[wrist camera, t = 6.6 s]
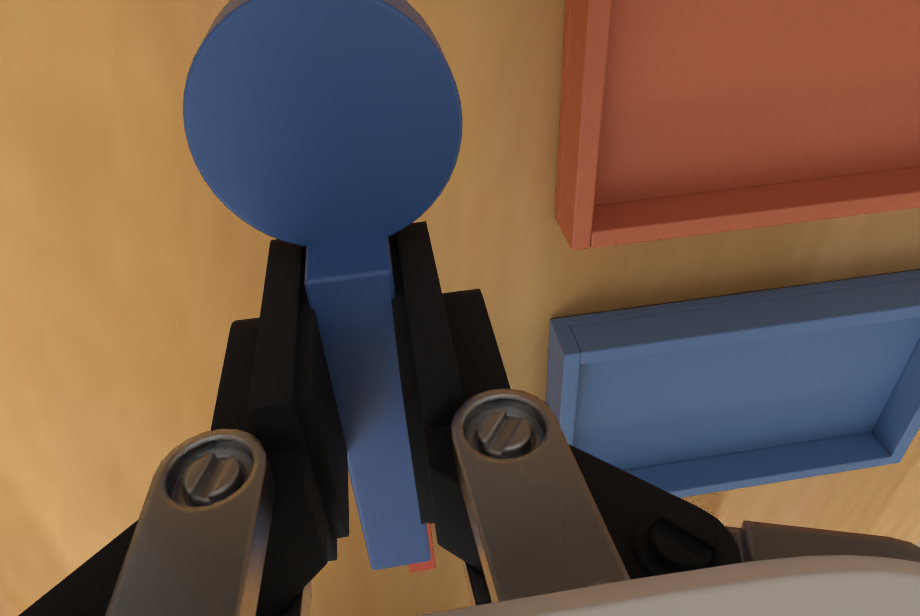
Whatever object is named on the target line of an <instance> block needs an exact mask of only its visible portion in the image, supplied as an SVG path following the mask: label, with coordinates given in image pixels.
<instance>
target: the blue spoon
mask: <svg viewBox="0 0 920 616" xmlns="http://www.w3.org/2000/svg"><path fill="white" fill-rule="evenodd" d="M183 118H184V128H185V133H186V137H187V141H188V145H189V149H190V151H191V154H192V156H193V159H194V161H195V164H196V166H197V167H198V169H199V171H200V173H201V175H202V177H203V178H204V180H205V181H206V183H207V184H208V186H209V187H210V188H211V190H212V191H213V192H214V194H215V195H216V196H217V197H218V198H219V199H220V200H221V201H222V203H223V204H224V205H225V206H226V207H227V208H228V209H230V210H231V211H232V212H233V213H234V214H235V215H237V216H238V217H239V218H240V219H242V220H243V221H245V222H246V223H248V224H249V225H251V226H252V227H254V228H255V229H257V230H259V231H261V232H263V233H265V234H267V235H269V236H271V237H274V238H276V239H279V240H282V241H284V242H288V243H292V244H295V245H299V246H304V247H306V263H305V280H304V284H305V289H306V293H307V297H308V301H309V306H310V308H311V309H314V310H315V314H316V318H317V322H318V327H319V331H320V335H321V340H322V344H323V348H324V353H325V357H326V361H327V366H328V370H329V374H330V379H331V383H332V387H333V392H334V396H335V400H336V405H337V409H338V413H339V418H340V422H341V426H342V431H343V435H344V439H345V443H346V448H347V458H348V471H349V476H350V480H351V484H352V488H353V493H354V497H355V501H356V505H357V510H358V514H359V518H360V522H361V527H362V531H363V535H364V539H365V544H366V548H367V552H368V556H369V561H370V565H371V568H372V569H373V570H379V569H385V568H391V567H397V566H403V565H409V564H415V563H421V562H427V561H429V560H430V559H431V551H430V543H429V536H428V528H427V524H421V520H420V513H419V506H418V499H417V493H416V486H415V479H414V472H413V465H412V458H411V451H410V444H409V437H408V431H407V424H406V417H405V410H404V403H403V396H402V388H401V380H400V372H399V364H398V355H397V346H396V338H395V329H394V320H393V312H392V303H391V300H392V299H394V298H395V297H396V293H395V285H394V277H393V269H392V261H391V254H390V246H389V238H388V237H389V236H391V235H394V234H395V233H397V232H399V231H400V230H402V229H404V228H406V227H407V226H409V225H410V224H411V223H413V222H414V221H415V220H416V219H418V218H419V217H420V216H421V215H422V214H423V213H424V212H425V211H426V210H427V209H428V208H429V207H430V206H431V205H432V204H433V203H434V201H435V200H436V199H437V198H438V196H439V195H440V194H441V192H442V191H443V189H444V187H445V186H446V184H447V182H448V181H449V179H450V176H451V174H452V172H453V170H454V167H455V165H456V161H457V158H458V154H459V151H460V145H461V138H462V110H461V102H460V97H459V93H458V90H457V86H456V82H455V80H454V78H453V75H452V73H451V70H450V68H449V65H448V63H447V61H446V59H445V56H444V54H443V52H442V50H441V47H440V45H439V43H438V41H437V39H436V38H435V36H434V34H433V32H432V31H431V29H430V27H429V26H428V25H427V23H426V22H425V21H424V19H423V18H422V17H421V15H420V14H419V13H418V12H417V11H416V10H415V9H414V8H413V7H412V6H411V5H410V4H409V3H408V2H407V1H406V0H231V1H229V2H228V3H227V4H226V5H225V7H224V8H223V9H222V11H221V12H220V13H219V14H218V16H217V17H216V18H215V20H214V22H213V24H212V25H211V27H210V29H209V31H208V33H207V34H206V36H205V38H204V40H203V42H202V44H201V45H200V47H199V49H198V51H197V53H196V55H195V56H194V58H193V61H192V64H191V67H190V69H189V72H188V75H187V79H186V84H185V90H184V98H183Z"/></svg>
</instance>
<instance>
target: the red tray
mask: <svg viewBox="0 0 920 616" xmlns="http://www.w3.org/2000/svg"><path fill="white" fill-rule="evenodd" d="M914 207H920V0H566V3H565V23H564V44H563V64H562V85H561V105H560V126H559V146H558V167H557V188H556V208H555V218H556V220H557V222H558V224H559V225H560V228H561V229H562V231H563V233H564V235H565V237H566V239H567V241H568V243H569V245H570V247H571V249H572V250H578V249H586V248H590V247H591V248H595V247H603V246H611V245H619V244H627V243H635V242H643V241H651V240H659V239H667V238H675V237H683V236H691V235H699V234H707V233H715V232H723V231H731V230H738V229H746V228H754V227H762V226H770V225H778V224H786V223H794V222H802V221H810V220H818V219H826V218H834V217H842V216H850V215H858V214H866V213H874V212H882V211H890V210H898V209H906V208H914Z"/></svg>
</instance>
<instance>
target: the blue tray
mask: <svg viewBox="0 0 920 616" xmlns="http://www.w3.org/2000/svg"><path fill="white" fill-rule="evenodd" d="M546 404H547V405H548V406H549V408H550V409H551V411H552V412H553V413H554V415H555V417H556V419H557V421H558V423H559V425H560V427H561V430H562V432H563V434H564V436H565V438H566V440H567V443H568V444H570V445H572V446H574V447H576V448H578V449H580V450H582V451H584V452H586V453H588V454H590V455H593V456H595V457H597V458H599V459H601V460H603V461H605V462H607V463H609V464H611V465H613V466H615V467H617V468H619V469H621V470H623V471H625V472H627V473H629V474H631V475H634V476H636V477H638V478H640V479H642V480H644V481H646V482H648V483H650V484H652V485H654V486H656V487H658V488H660V489H662V490H664V491H666V492H668V493H670V494H673V495H675V496H677V497H679V498H682V497H688V496H694V495H701V494H707V493H713V492H719V491H725V490H732V489H738V488H744V487H750V486H757V485H763V484H769V483H775V482H782V481H788V480H794V479H800V478H806V477H813V476H819V475H825V474H831V473H838V472H844V471H850V470H856V469H863V468H869V467H875V466H881V465H887V464H893V463H899V462H900V461H901V459H902V457H903V456H904V454H905V452H906V450H907V449H908V447H909V445H910V443H911V442H912V440H913V438H914V437H915V435H916V433H917V431H918V430H919V428H920V270H913V271H906V272H898V273H891V274H883V275H876V276H868V277H861V278H853V279H846V280H839V281H831V282H824V283H816V284H809V285H801V286H794V287H786V288H779V289H771V290H764V291H757V292H749V293H742V294H734V295H727V296H719V297H712V298H704V299H697V300H689V301H682V302H675V303H667V304H660V305H652V306H645V307H637V308H630V309H622V310H615V311H607V312H600V313H593V314H585V315H578V316H570V317H563V318H555V319H550V330H549V351H548V371H547V392H546Z"/></svg>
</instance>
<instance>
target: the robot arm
mask: <svg viewBox="0 0 920 616" xmlns="http://www.w3.org/2000/svg"><path fill="white" fill-rule="evenodd" d="M388 238H389V246H390V254H391V261H392V269H393V277H394V285H395V293H396V297H395V298H394V299H392V300H391V303H392V312H393V320H394V329H395V338H396V346H397V355H398V364H399V372H400V380H401V388H402V396H403V403H404V410H405V417H406V424H407V431H408V437H409V444H410V451H411V458H412V465H413V472H414V479H415V486H416V493H417V499H418V506H419V513H420V520H421V524H428V523H434V522H435V528H436V535H437V542H438V545H440V546H441V547H443V548H444V549H446V550H448V551H449V552H451V553H452V554H454V555H455V556H457V557H459V558H460V559H462V560H463V568H464V574H465V578H466V582H467V586H468V590H469V594H470V598H471V602H472V606H471V607H465V608H460V609H454V610H448V611H442V612H436V613H431V614H425V615H419V616H920V547H918V546H916V545H914V544H912V543H911V542H907V541H903V540H899V539H895V538H891V537H885V536H876V535H867V534H858V533H849V532H840V531H832V530H823V529H814V528H805V527H796V526H788V525H779V524H770V523H761V522H752V521H743V524H742V527H741V528H736V527H727V526H724V525H723V524H722V523H721V522H720V521H719V520H718V519H717V518H715V517H714V516H712V515H711V514H709V513H708V512H706V511H704V510H703V509H701V508H699V507H697V506H695V505H693V504H691V503H689V502H687V501H685V500H683V499H681V498H679V497H677V496H675V495H673V494H670V493H668V492H666V491H664V490H662V489H660V488H658V487H656V486H654V485H652V484H650V483H648V482H646V481H644V480H642V479H640V478H638V477H636V476H634V475H631V474H629V473H627V472H625V471H623V470H621V469H619V468H617V467H615V466H613V465H611V464H609V463H607V462H605V461H603V460H601V459H599V458H597V457H595V456H593V455H590V454H588V453H586V452H584V451H582V450H580V449H578V448H576V447H574V446H572V445H570V444H568V443H567V440H566V438H565V436H564V434H563V432H562V430H561V427H560V425H559V423H558V421H557V419H556V417H555V415H554V413H553V412H552V411H551V409H550V408H549V406H548V405H547V404H546V403H544V402H543V401H542V400H540V399H539V398H538V397H536V396H534V395H531V394H529V393H526V392H524V391H520V390H513V389H510V385H509V382H508V379H507V376H506V372H505V369H504V366H503V362H502V359H501V356H500V352H499V349H498V346H497V342H496V339H495V336H494V332H493V329H492V326H491V322H490V319H489V316H488V312H487V309H486V306H485V302H484V299H483V296H482V293H481V290H480V289H473V290H465V291H458V292H450V293H442V292H441V287H440V283H439V278H438V274H437V269H436V265H435V260H434V255H433V251H432V246H431V242H430V237H429V233H428V228H427V224H426V221H425V222H417V223H411V224H410V225H409V226H407V227H406V228H404V229H402V230H400V231H399V232H397V233H395V234H394V235H391V236H389V237H388ZM305 263H306V247H304V246H299V245H295V244H292V243H288V242H284V241H282V240H279V239H277V240H271V242H270V248H269V255H268V263H267V270H266V277H265V284H264V291H263V299H262V306H261V313H260V317H259V318H252V319H244V320H237V321H234V322H233V323H232V325H231V328H230V332H229V338H228V343H227V348H226V353H225V358H224V364H223V369H222V374H221V379H220V384H219V390H218V395H217V400H216V405H215V410H214V416H213V421H212V426H211V431H208V432H204V433H201V434H199V435H197V436H194V437H192V438H190V439H187V440H186V441H185V442H183V443H182V444H180V445H179V446H177V447H176V448H174V449H173V450H172V451H171V452H170V453H169V454H168V455H167V456H166V457H165V458H164V460H163V461H162V462H161V463H160V465H159V467H158V469H157V471H156V473H155V474H154V477H153V479H152V482H151V485H150V488H149V491H148V494H147V497H146V499H145V502H144V505H143V508H142V511H141V514H140V517H139V520H137V521H136V522H135V523H134V524H132V525H131V526H130V527H129V528H127V529H126V530H125V531H124V532H122V533H121V534H120V535H119V536H117V537H116V538H115V539H114V540H112V541H111V542H110V543H109V544H107V545H106V546H105V547H104V548H102V549H101V550H100V551H99V552H97V553H96V554H95V555H94V556H92V557H91V558H90V559H89V560H87V561H86V562H85V563H84V564H82V565H81V566H80V567H79V568H77V569H76V570H75V571H74V572H72V573H71V574H70V575H69V576H67V577H66V578H65V579H64V580H62V581H61V582H60V583H59V584H57V585H56V586H55V587H54V588H52V589H51V590H50V591H49V592H47V593H46V594H45V595H44V596H42V597H41V598H40V599H39V600H37V601H36V602H35V603H34V604H32V605H31V606H30V607H29V608H27V609H26V610H25V611H24V612H22V613H21V614H20V615H19V616H310V608H311V598H312V593H311V583H310V581H311V580H312V579H313V578H314V577H315V575H316V574H317V573H318V572H319V571H320V570H321V569H322V568H323V567H324V566H325V565H326V564H327V561H333V560H337V538H342V537H348V536H349V500H348V458H347V448H346V443H345V439H344V435H343V431H342V426H341V422H340V418H339V413H338V409H337V405H336V400H335V396H334V392H333V387H332V383H331V379H330V374H329V370H328V366H327V361H326V357H325V353H324V348H323V344H322V340H321V335H320V331H319V327H318V322H317V318H316V314H315V310H314V309H311V308H310V306H309V301H308V297H307V293H306V289H305V284H304V280H305Z"/></svg>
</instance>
